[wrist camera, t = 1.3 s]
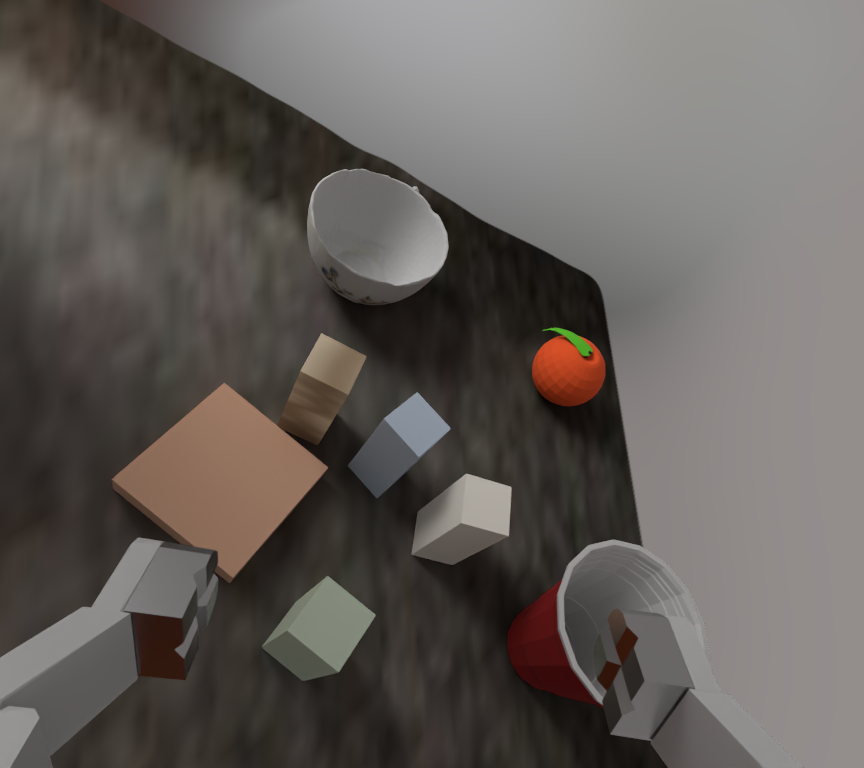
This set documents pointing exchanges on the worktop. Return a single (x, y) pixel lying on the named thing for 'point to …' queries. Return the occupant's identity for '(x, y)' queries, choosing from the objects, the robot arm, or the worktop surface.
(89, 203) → the worktop surface
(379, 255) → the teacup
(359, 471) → the dusty blue post
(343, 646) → the sage green post
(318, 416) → the beech post
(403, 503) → the worktop surface
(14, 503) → the worktop surface
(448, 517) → the cream post
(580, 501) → the worktop surface
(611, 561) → the plastic cup
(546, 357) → the clementine
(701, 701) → the robot arm
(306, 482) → the terracotta tile
